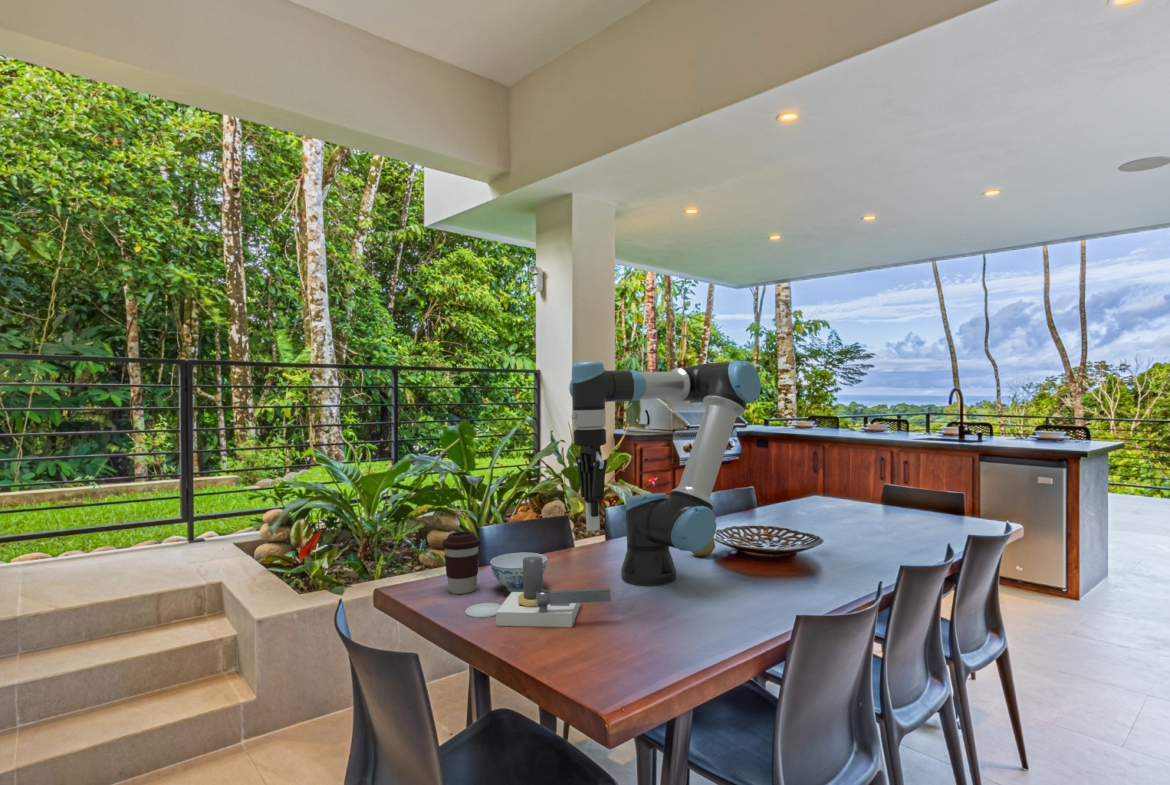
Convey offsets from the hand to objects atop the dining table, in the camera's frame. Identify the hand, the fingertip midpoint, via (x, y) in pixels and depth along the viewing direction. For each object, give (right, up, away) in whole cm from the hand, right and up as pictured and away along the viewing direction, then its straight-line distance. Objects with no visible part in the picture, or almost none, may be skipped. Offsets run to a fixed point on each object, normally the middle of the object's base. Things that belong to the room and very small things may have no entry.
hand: (593, 529), depth 139 cm
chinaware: (-19, -21, +20) cm, 35 cm away
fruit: (+35, -20, +48) cm, 62 cm away
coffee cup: (-34, -21, +20) cm, 45 cm away
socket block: (-12, -20, 0) cm, 23 cm away
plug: (-14, -20, +1) cm, 24 cm away
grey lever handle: (-5, -15, -5) cm, 16 cm away
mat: (-26, -20, +4) cm, 33 cm away
